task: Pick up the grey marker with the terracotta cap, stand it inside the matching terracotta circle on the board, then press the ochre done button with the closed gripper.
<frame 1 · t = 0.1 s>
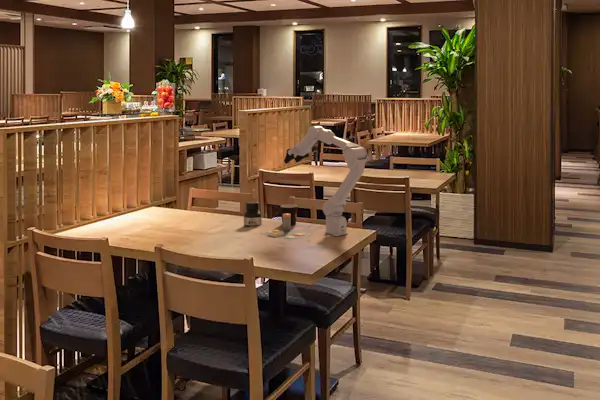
hand: (290, 161, 314), 32 cm above the table, tool tilted 50°, fingers open, 7 cm apart
coffee mug: (291, 225, 319), on the table
done button: (275, 232, 294), point 2 cm above the table, slide at 0.0 cm
marker: (286, 230, 303), point 1 cm above the table, touching board
ink bottle: (252, 226, 318), on the table
board: (286, 235, 296), on the table
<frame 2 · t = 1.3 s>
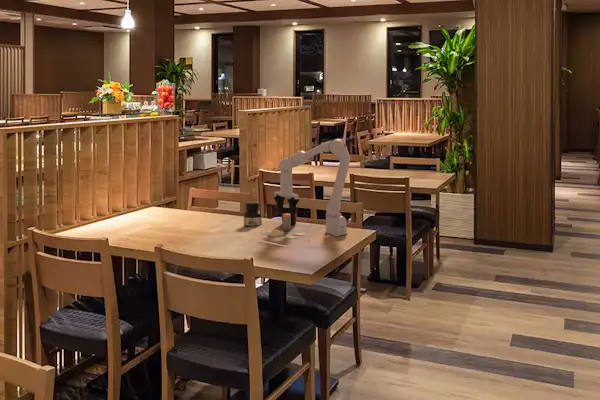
hand: (286, 212, 302), 10 cm above the table, tool pointing down, fingers open, 7 cm apart
nothing on the table moved.
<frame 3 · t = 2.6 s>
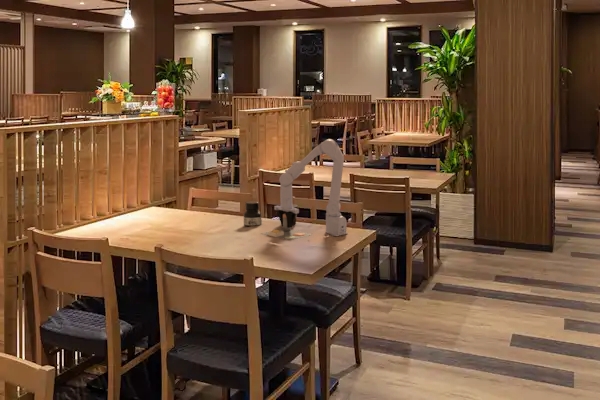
hand: (286, 226, 303), 3 cm above the table, tool pointing down, fingers closed on marker, 4 cm apart
marker: (286, 230, 303), point 1 cm above the table, touching board, gripper
everything else where it was.
when the fingers open (4 cm above the table, at t = 6.3 s): marker stays where it is, resting on board.
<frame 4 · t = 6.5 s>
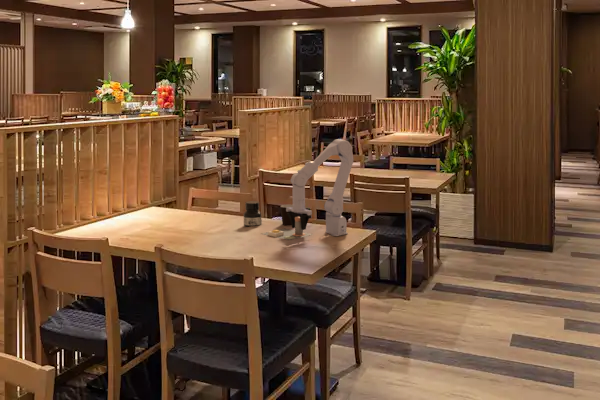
hand: (298, 228, 294), 4 cm above the table, tool pointing down, fingers open, 5 cm apart
marker: (298, 234, 295), point 1 cm above the table, touching board
everything else where it was.
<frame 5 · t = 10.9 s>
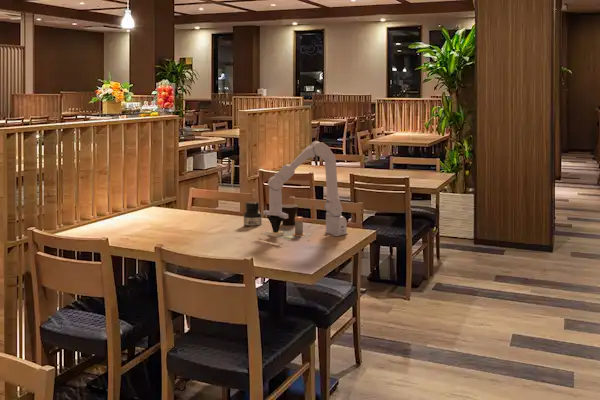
hand: (275, 232, 294), 2 cm above the table, tool pointing down, fingers closed, pressing on done button
done button: (275, 233, 294), point 2 cm above the table, slide at 0.7 cm, touching gripper
everything else where it was.
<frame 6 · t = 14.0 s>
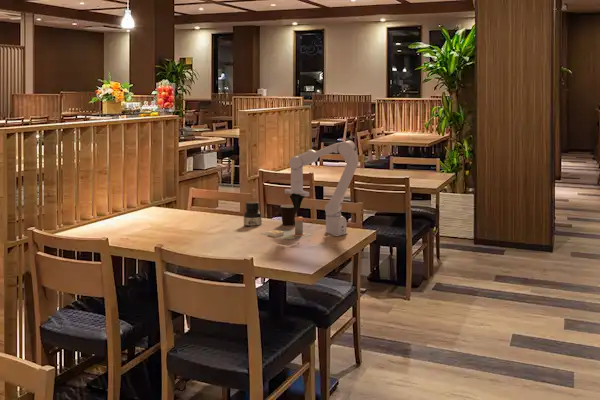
hand: (297, 209, 304), 10 cm above the table, tool pointing down, fingers closed
done button: (275, 233, 294), point 2 cm above the table, slide at 0.7 cm
everything else where it was.
at the end: marker 0.0 cm from the target spot, point 0.9 cm above the table; marker tilted 0°; done button slide at 0.7 cm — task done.
